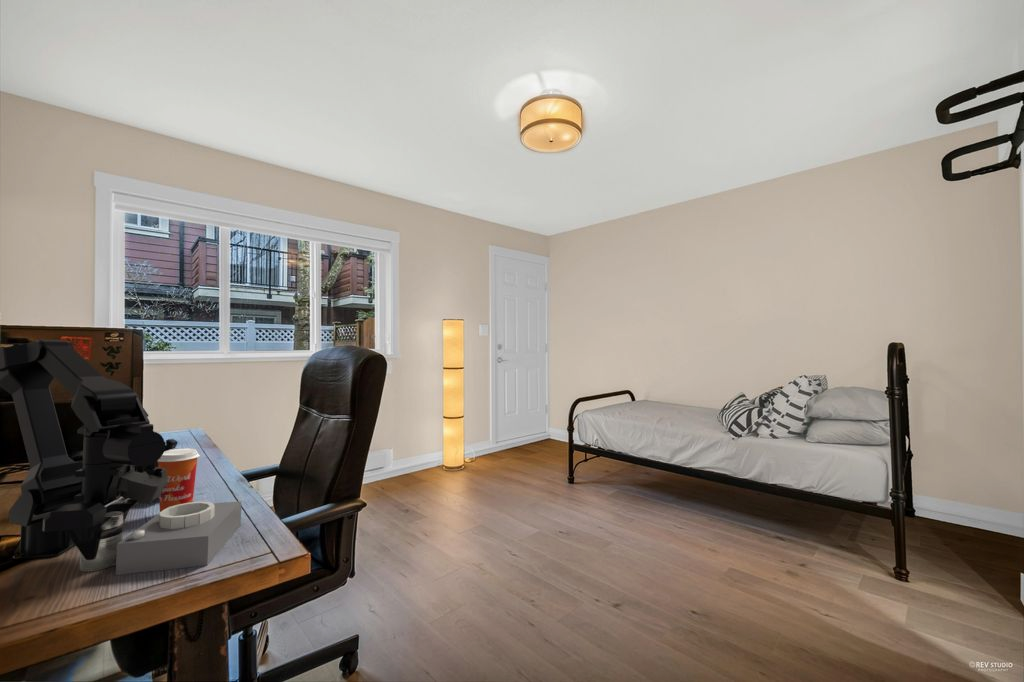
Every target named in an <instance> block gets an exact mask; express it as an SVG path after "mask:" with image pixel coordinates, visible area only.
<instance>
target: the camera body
mask: <svg viewBox="0 0 1024 682" xmlns="http://www.w3.org/2000/svg"><path fill="white" fill-rule="evenodd" d="M241 522H242V501H241V500H239V501H226V502H214V503H213V502H210V501H209V502H208V501H194V502H191V503H190V502H189V503H184V504H179V505H175V506H169V507H168V508H166V509H164V510H163V511H161V512H160V511H159V513H158V514H156V515H155V516H154V517H152V518H151V519H150V520H148V521H147V522H146V523H144V524H143V525H141V526H140V527H138V528H137V529H136V530H135V531H132V533H130V534H129V535H127V536H126V537H125V538H122V541H120V542H119V543H118V544H117V555H116V564H115V575H117V576H119V575H129V574H135V573H136V574H137V573H147V572H156V571H164V570H177V569H184V568H195V567H205V566H208V565H210V563H211V562H212V560H213V559H214V558H216V557H215V556H217V554H218V553H219V552H220V551H221V549H222V548H223V547H224V546H225V545H226V543H228V541H229V540H230V538H232V536H233V535H234V533H235V532H237V530H238V529H239V528H240V526H241V525H242V523H241Z"/></svg>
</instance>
